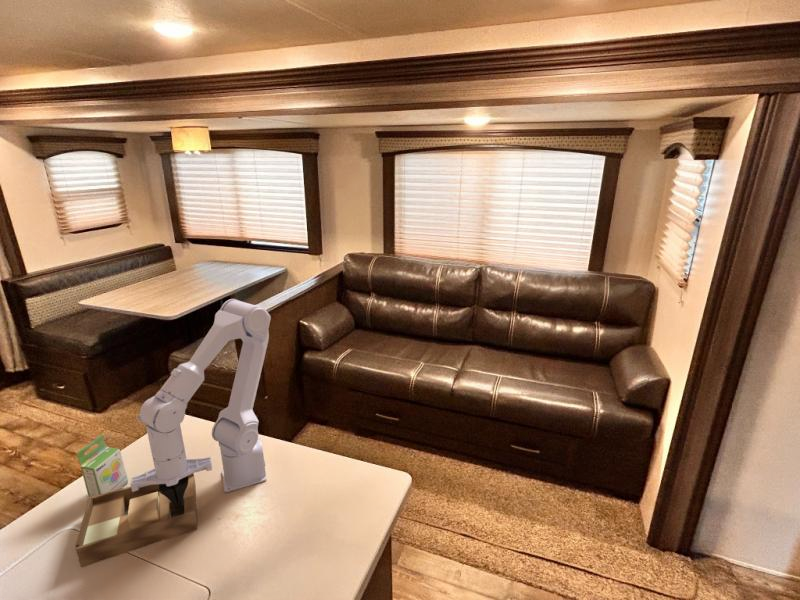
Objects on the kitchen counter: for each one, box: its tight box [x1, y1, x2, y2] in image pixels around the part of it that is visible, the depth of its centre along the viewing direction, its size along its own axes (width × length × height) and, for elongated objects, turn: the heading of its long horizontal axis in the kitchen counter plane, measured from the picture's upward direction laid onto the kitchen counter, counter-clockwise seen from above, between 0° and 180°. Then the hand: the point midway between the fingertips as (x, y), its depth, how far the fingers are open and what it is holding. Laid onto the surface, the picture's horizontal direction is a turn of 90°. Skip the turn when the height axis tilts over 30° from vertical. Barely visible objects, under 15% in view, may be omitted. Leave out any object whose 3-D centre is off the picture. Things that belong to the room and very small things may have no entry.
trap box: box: [74, 473, 198, 568], centre depth 88 cm, size 20×14×5 cm
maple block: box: [127, 492, 161, 530], centre depth 85 cm, size 5×5×4 cm
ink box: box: [76, 433, 129, 498], centre depth 95 cm, size 7×4×13 cm, turn 169°
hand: (179, 505), depth 88 cm, fingers closed
